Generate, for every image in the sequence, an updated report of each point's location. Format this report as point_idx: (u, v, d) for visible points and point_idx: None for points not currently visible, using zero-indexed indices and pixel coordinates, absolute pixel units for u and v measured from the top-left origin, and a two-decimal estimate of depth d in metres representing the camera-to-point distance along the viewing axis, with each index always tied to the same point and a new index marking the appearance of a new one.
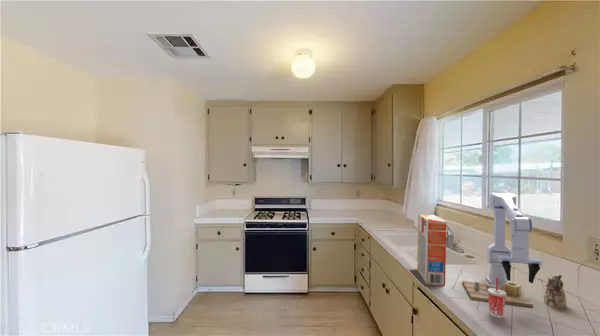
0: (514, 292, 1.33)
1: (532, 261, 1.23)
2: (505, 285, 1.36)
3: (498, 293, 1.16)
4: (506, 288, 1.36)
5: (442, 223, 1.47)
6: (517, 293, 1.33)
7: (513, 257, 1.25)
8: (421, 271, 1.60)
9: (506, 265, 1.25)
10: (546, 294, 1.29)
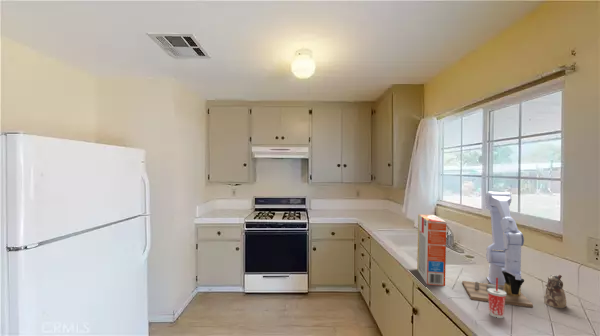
0: None
1: (510, 273, 1.33)
2: (505, 285, 1.36)
3: (498, 293, 1.16)
4: (506, 288, 1.36)
5: (442, 223, 1.47)
6: None
7: None
8: (421, 271, 1.60)
9: (502, 272, 1.41)
10: (546, 294, 1.29)
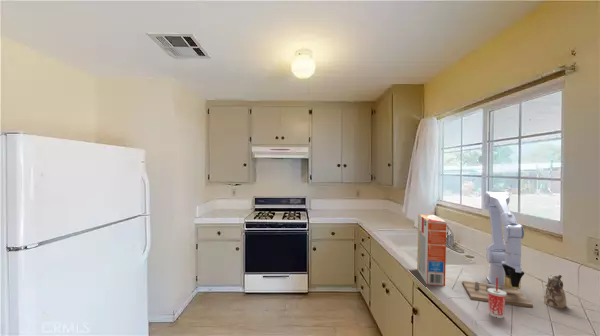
0: None
1: (510, 265, 1.33)
2: (505, 278, 1.36)
3: (498, 293, 1.16)
4: (506, 281, 1.36)
5: (442, 223, 1.47)
6: None
7: None
8: (421, 271, 1.60)
9: (502, 265, 1.41)
10: (546, 294, 1.29)
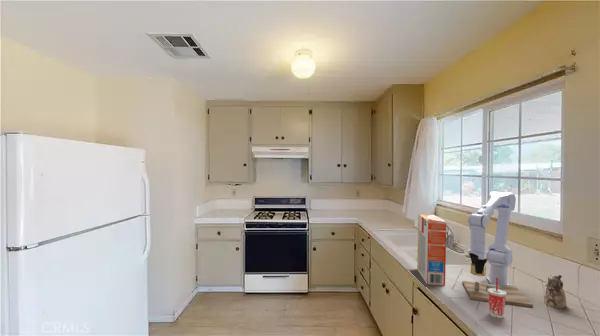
0: None
1: (474, 253, 1.37)
2: (471, 266, 1.40)
3: (498, 293, 1.16)
4: (472, 268, 1.40)
5: (442, 223, 1.47)
6: (482, 273, 1.37)
7: None
8: (421, 271, 1.60)
9: None
10: (546, 294, 1.29)
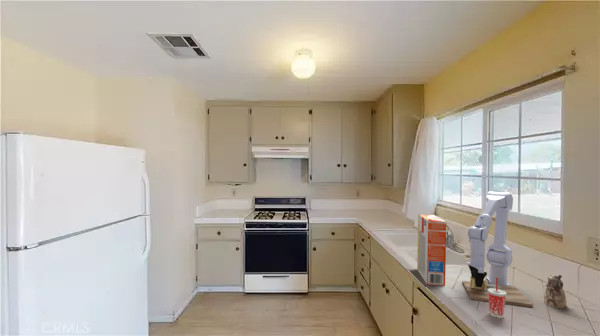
0: None
1: (474, 266, 1.37)
2: (471, 279, 1.40)
3: (498, 293, 1.16)
4: (471, 281, 1.40)
5: (442, 223, 1.47)
6: (482, 286, 1.37)
7: None
8: (421, 271, 1.60)
9: None
10: (546, 294, 1.29)
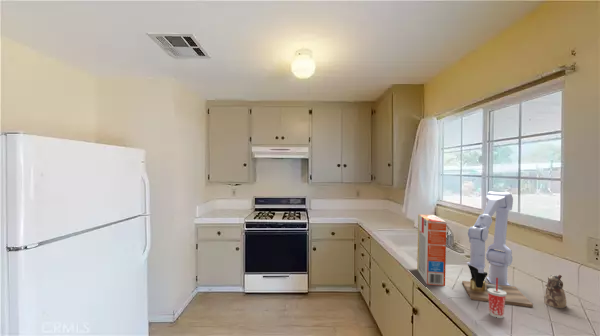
0: (479, 288, 1.37)
1: (474, 266, 1.37)
2: (471, 281, 1.40)
3: (498, 293, 1.16)
4: (471, 284, 1.40)
5: (442, 223, 1.47)
6: (482, 289, 1.37)
7: None
8: (421, 271, 1.60)
9: (468, 265, 1.46)
10: (546, 294, 1.29)
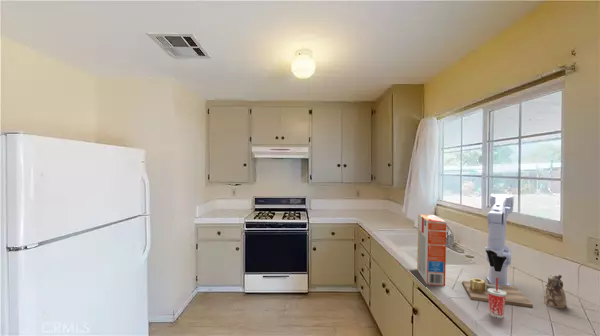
0: (479, 288, 1.37)
1: (493, 250, 1.37)
2: (471, 281, 1.40)
3: (498, 293, 1.16)
4: (471, 284, 1.40)
5: (442, 223, 1.47)
6: (482, 289, 1.37)
7: None
8: (421, 271, 1.60)
9: None
10: (546, 294, 1.29)
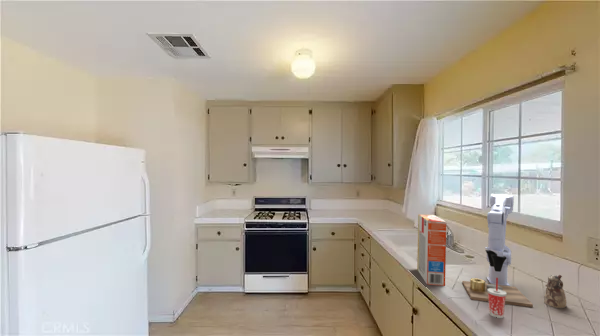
0: (479, 288, 1.37)
1: (493, 250, 1.37)
2: (471, 281, 1.40)
3: (498, 293, 1.16)
4: (471, 284, 1.40)
5: (442, 223, 1.47)
6: (482, 289, 1.37)
7: None
8: (421, 271, 1.60)
9: None
10: (546, 294, 1.29)
